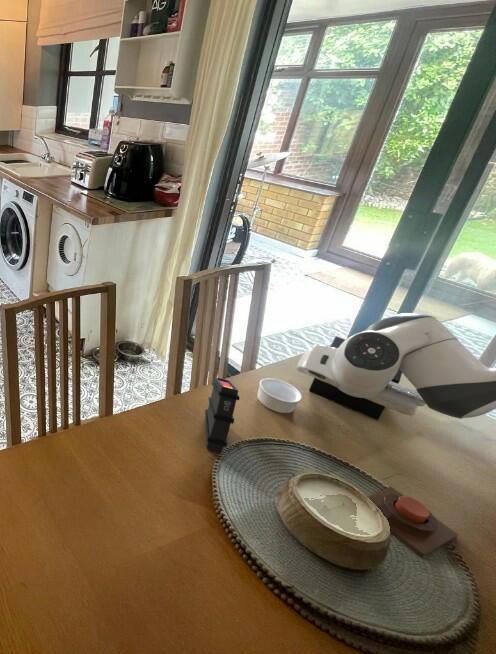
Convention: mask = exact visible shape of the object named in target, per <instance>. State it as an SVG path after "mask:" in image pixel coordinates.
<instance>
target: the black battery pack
mask: <svg viewBox="0 0 496 654" xmlns="http://www.w3.org/2000/svg"><path fill="white" fill-rule="evenodd" d="M211 386H212V390H211V391H212V392H211V395H210V397H208V407H207V408H205V410H204V418H205V421H204V422H205V449H206V450H208V451H211V452H215V453H218V454H222V453H223V450H224V447H225V448H227V447H228V435H229V432H230V427H231V424H232V425H234V423H235V418H234V414H235V413H234V412H235V408H236V403H237V401H240V396H239V389H238V388H237V387H236V386H235V385H234V384H233V382H232V381H231V380H229V379H224V378H220V377H216V376H215V377H214V381H211Z"/></svg>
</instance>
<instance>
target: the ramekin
mask: <svg viewBox="0 0 496 654" xmlns="http://www.w3.org/2000/svg"><path fill="white" fill-rule="evenodd" d="M258 386H259V387H258V390H257V391H258V392H257V399H258V401H259V402H260V403H261V404H262V405H263V406H264V407H266V408H267V409H269V410H271V411H274V412H276V413H280V414H289V413H292V412H293V411H294V410H295V409H296V407H297V405H298V404H299V403H300V402H301V400H303V399H302V398H303V396H302V393H301V392H300V390H298V389H297V387H295V386H294V385H292V384H290V383H288V382H286V381H284V380H281V379H278V378H273V377H266V378H263V379H261V380H260V381H259V383H258Z"/></svg>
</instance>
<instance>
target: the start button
mask: <svg viewBox="0 0 496 654" xmlns="http://www.w3.org/2000/svg"><path fill="white" fill-rule="evenodd" d="M395 508H396V510H397V511H398V512H399V513H400V514H402V515H403V516H404V517H406V518H407V519H409V520H411V521H413V522H415V523H424V522H425V521H426V519H427V518H428V517H429V515H430V513H429V511H430V510H429V509H428V508H427V507H426V505H424V504H423V503H422V502H420V501H419V500H417V499H415V498H413V497H410V496H407V495H406V496H405V495H404V496H401V497H399V499H398V500H397V502H396V503H395ZM428 510H429V511H428Z"/></svg>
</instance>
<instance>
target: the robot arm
mask: <svg viewBox="0 0 496 654" xmlns="http://www.w3.org/2000/svg"><path fill="white" fill-rule="evenodd" d="M329 346H330V345H324V344H319V343H313V346H312V347H310V348H309V349H307V350H305V351H304V353H302V355H301V357H300V359H299V361H298V362H297V364H296V367H295V369H296V370H297V371H298V372H300V373H302V374H304V375H307V376H309V377H312V378H313V379H314V378H317V379H319V380H321V381H324V382H326V383H329V384H331V385H333V386H335V387H337V388H338V389H340V390H341V391H342V392H344V393H346V394H348V395H351V396H354V397H359V398H366V399H368V400H370V401H373V402H375V403H378V404H380V405H383V406H385V408H388V409H390V410H393V411H395V412H397V413H399V414H402V415H405V416H410V417H411V416H414V415H415V414H416V411H417V409H418V408H419V407H425V406H427V408H429V409H431V410H433V411H435V412H437V413H440V414H442V415H446V416H448V417H451V418H455V419H459V420H462V419H470V418H476V417H480V416H483V415H486V414H489V413H490V412H492V411H494V410H496V367H489V366H487V365H485V364H483V362H482V361H480V360H479V359H478V357H476V355H474V354H473V353H472V352H471V351H470V350H469V349H468V348H467V347H466V346H465V345H464V344H463V343H462V342H461V341H460V340H459V338H458V337H457V336H456V335H454V333H452V332H451V330H449V329H448V328H447V327H446V326H445V325H444V324H443V323H442V322H441V321H440V320H439V319H438V318H436V317H435V316H432V315H428V314H423V313H413V312H404V313H403V312H402V313H397V314H394V315H391V316H388V317H385V318H383V319H382V318H381V319H380V320H378V321H376V322H374V323H372V324H371V325H369V326H368V327H367V328H366V329H365V330H363V331H361V332H360V331H359V332H358V333H357V332H356V333H355V334H353V335H351V336H350V337H347V338H346V339H345V341H344V342H343V343H342V344H341V345H340V346H339V348H333V347H329ZM398 370H400V371H401V372H402V375H403V376H404V377H405V378H406V379H407V380H408V382H409V383H410V384H411V385H412V386H413V387H414V388H415V389H416V390H414V389H412V388H410V387H408V386H405V385H402V384H400V383H398V384H397V383H394V382H392V381H391V380H392V379H393V378H394V377H395V375H396V373H397V372H398Z"/></svg>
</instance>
